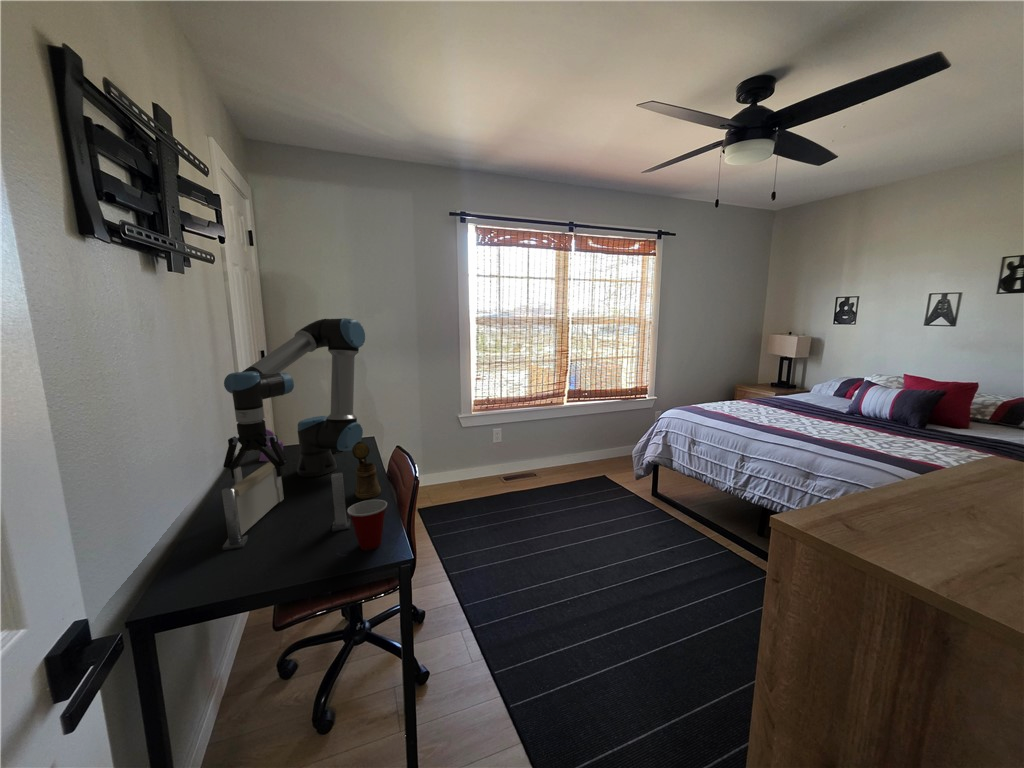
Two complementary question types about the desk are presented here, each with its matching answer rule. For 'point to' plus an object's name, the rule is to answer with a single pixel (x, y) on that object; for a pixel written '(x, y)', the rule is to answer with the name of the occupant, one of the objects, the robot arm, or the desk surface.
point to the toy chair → (263, 457)
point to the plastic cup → (368, 522)
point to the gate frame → (239, 541)
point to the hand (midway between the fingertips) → (259, 486)
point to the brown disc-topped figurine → (365, 473)
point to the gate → (256, 496)
